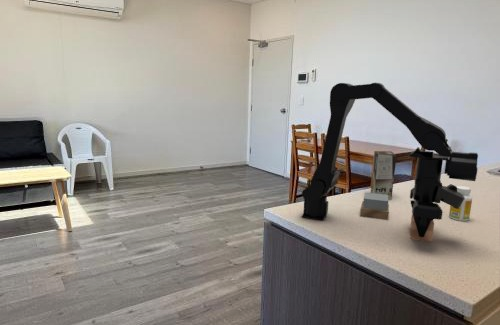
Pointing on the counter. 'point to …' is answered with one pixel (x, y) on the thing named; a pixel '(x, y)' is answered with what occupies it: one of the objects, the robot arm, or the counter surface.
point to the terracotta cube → (415, 234)
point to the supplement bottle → (462, 205)
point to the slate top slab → (375, 201)
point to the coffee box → (383, 173)
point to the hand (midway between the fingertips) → (420, 233)
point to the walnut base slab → (374, 213)
